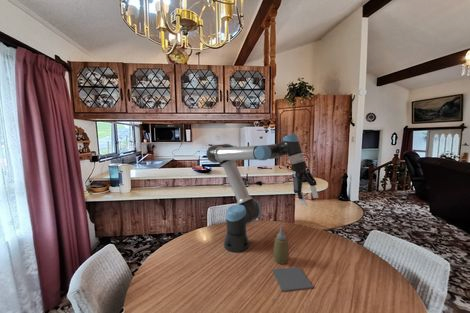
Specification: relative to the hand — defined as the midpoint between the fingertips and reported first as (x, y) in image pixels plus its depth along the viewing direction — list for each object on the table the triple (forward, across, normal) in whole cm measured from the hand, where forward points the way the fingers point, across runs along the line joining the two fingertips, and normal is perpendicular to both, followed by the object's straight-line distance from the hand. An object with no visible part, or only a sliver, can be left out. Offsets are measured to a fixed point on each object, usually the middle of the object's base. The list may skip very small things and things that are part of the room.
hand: (310, 201), depth 112 cm
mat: (+29, -23, +8) cm, 38 cm away
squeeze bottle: (+26, -15, +18) cm, 35 cm away
